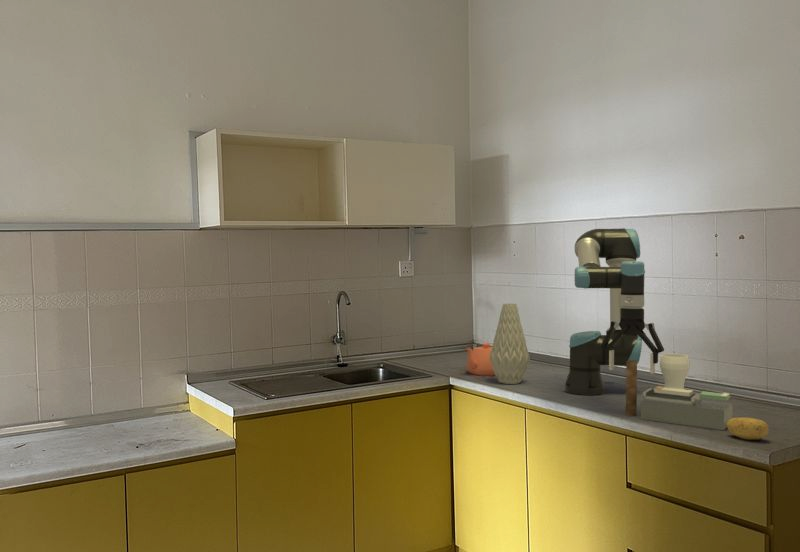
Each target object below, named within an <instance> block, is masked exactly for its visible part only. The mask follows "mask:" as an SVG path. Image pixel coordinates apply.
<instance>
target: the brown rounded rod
mask: <svg viewBox="0 0 800 552" xmlns="http://www.w3.org/2000/svg"><path fill="white" fill-rule="evenodd" d="M625 373H626V374H625V416H628V417H629V416H630V417H636V416H637V412H638V411H637V408H638V407H637V405H638V404H637V403H638V402H637V401H638V400H637V399H638V394H637V393H638V364H637V361H632V360H628V361H626V369H625Z"/></svg>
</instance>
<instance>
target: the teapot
mask: <svg viewBox="0 0 800 552" xmlns="http://www.w3.org/2000/svg"><path fill="white" fill-rule="evenodd" d="M465 350H467V360H466V361H467V362H466V369H467V371H468V372H469V373H470V374H471V375H475V376H482V377H484V376H485V377H488V376H490V377H492V376H495V373H494V370H493V368H492V363H491V361H490V360H489V358H490V352H491V350H492V346H491V343H489V342H487V343H485V342H484V343H482V346H476V347H473V349H472V348H471V347H467V346H465Z"/></svg>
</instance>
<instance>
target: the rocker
mask: <svg viewBox="0 0 800 552" xmlns="http://www.w3.org/2000/svg"><path fill="white" fill-rule="evenodd" d="M654 393H663V394H672V395H681V396H691V395H692V394H693V393H694V390H691V389H685V388H684V389H675V388H665V386H661V385H658V386H655V387H654Z"/></svg>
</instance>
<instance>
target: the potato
mask: <svg viewBox="0 0 800 552" xmlns="http://www.w3.org/2000/svg"><path fill="white" fill-rule="evenodd" d="M726 429H728V431H729V432H730V433H731V434H732V435H733V436H735V437H737V438H739V439H743V440H756V441H758V440H762V439H763V438H764V437H766V436H767V435H769V430H770V429H769V425H768V424H767V422H765V421H764V420H761V419H758V418H753V417H732V419H730V420H729V421H728V423H727V428H726Z"/></svg>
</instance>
